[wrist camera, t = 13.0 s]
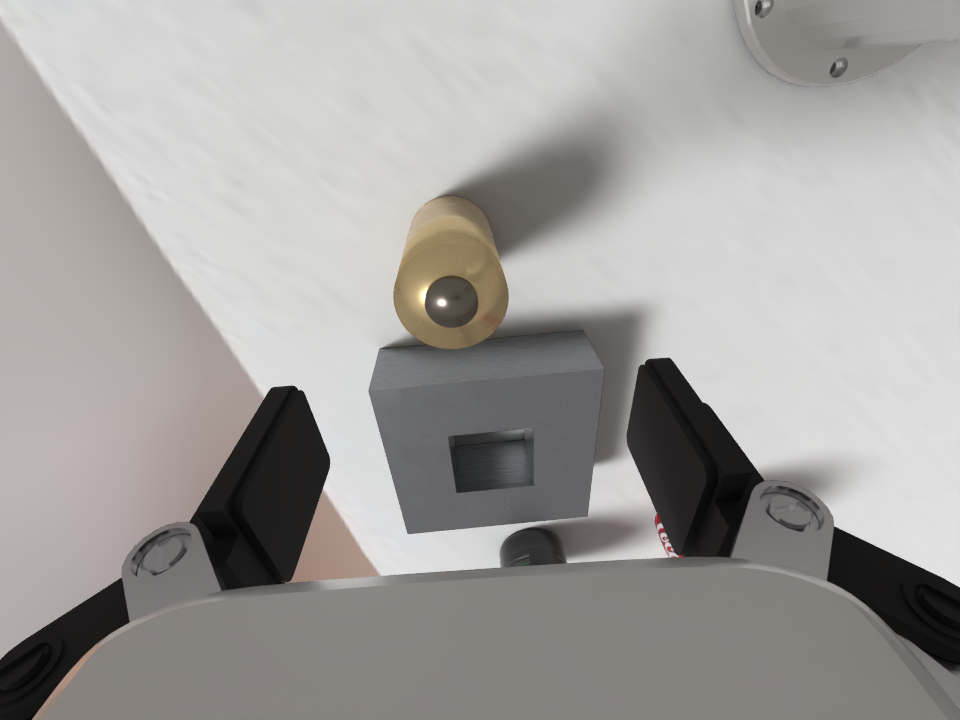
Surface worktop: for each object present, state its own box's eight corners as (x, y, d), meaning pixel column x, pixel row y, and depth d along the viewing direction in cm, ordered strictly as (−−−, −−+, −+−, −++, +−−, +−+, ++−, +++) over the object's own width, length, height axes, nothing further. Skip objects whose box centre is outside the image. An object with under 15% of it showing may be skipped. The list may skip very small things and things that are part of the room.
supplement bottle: (572, 548, 46) (607, 677, 36) (520, 571, 48) (538, 700, 38) (541, 518, 43) (570, 650, 33) (486, 544, 45) (497, 677, 35)
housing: (379, 349, 31) (368, 390, 26) (583, 330, 31) (604, 368, 27) (412, 485, 39) (407, 534, 35) (572, 470, 39) (587, 516, 35)
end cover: (402, 199, 25) (382, 252, 17) (489, 192, 25) (507, 241, 17) (416, 281, 28) (403, 358, 20) (493, 274, 28) (511, 348, 20)
